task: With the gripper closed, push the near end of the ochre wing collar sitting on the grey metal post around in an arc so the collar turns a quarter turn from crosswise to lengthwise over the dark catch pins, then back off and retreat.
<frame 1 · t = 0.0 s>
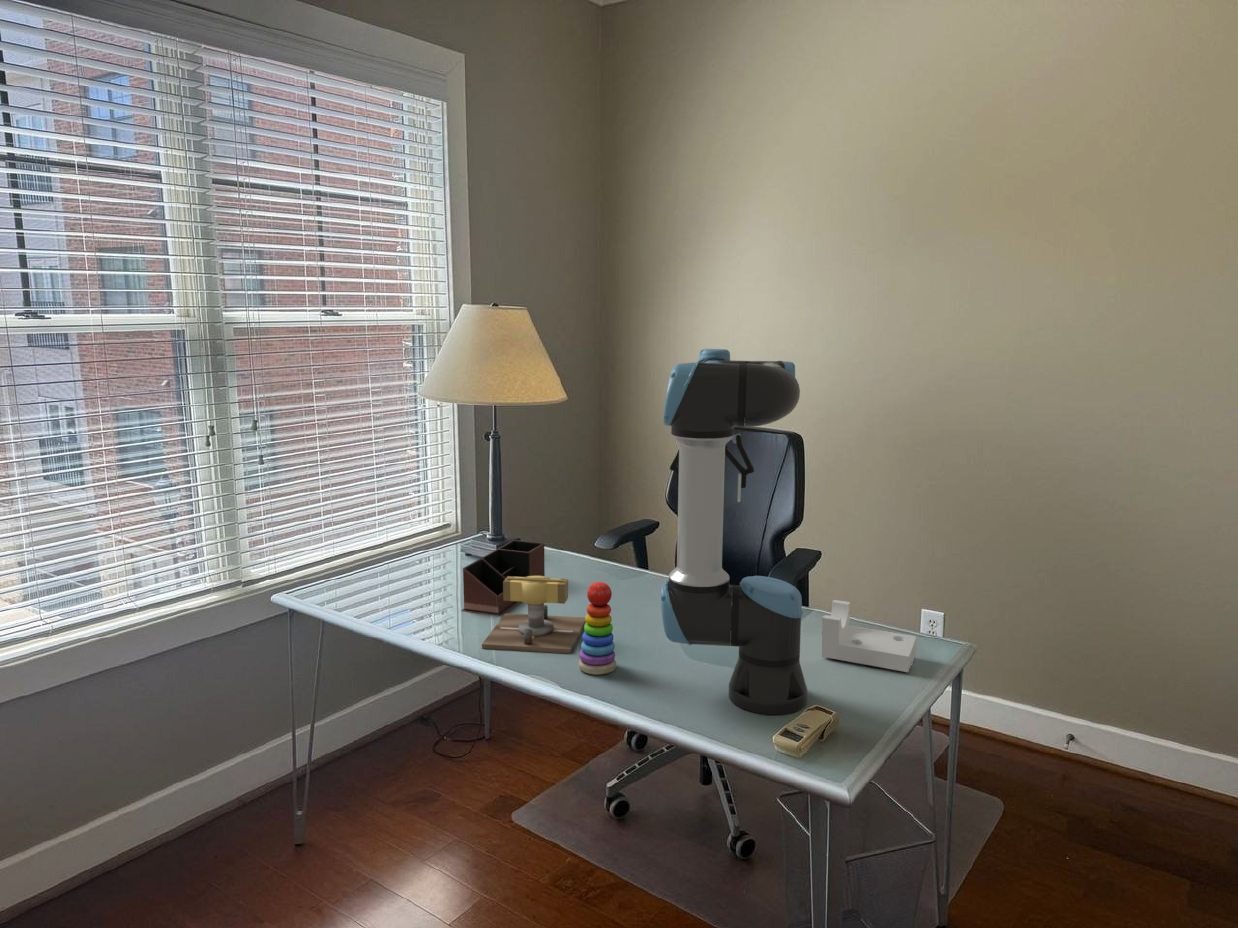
hand: (710, 500, 218), 28 cm above the table, fingers open, 13 cm apart
stacking toy: (597, 669, 187), on the table
white mounting bracket: (868, 660, 193), on the table
base: (536, 634, 206), on the table
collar: (535, 589, 204), point 11 cm above the table, hinge at 0.0°
desk organizer: (506, 597, 233), on the table
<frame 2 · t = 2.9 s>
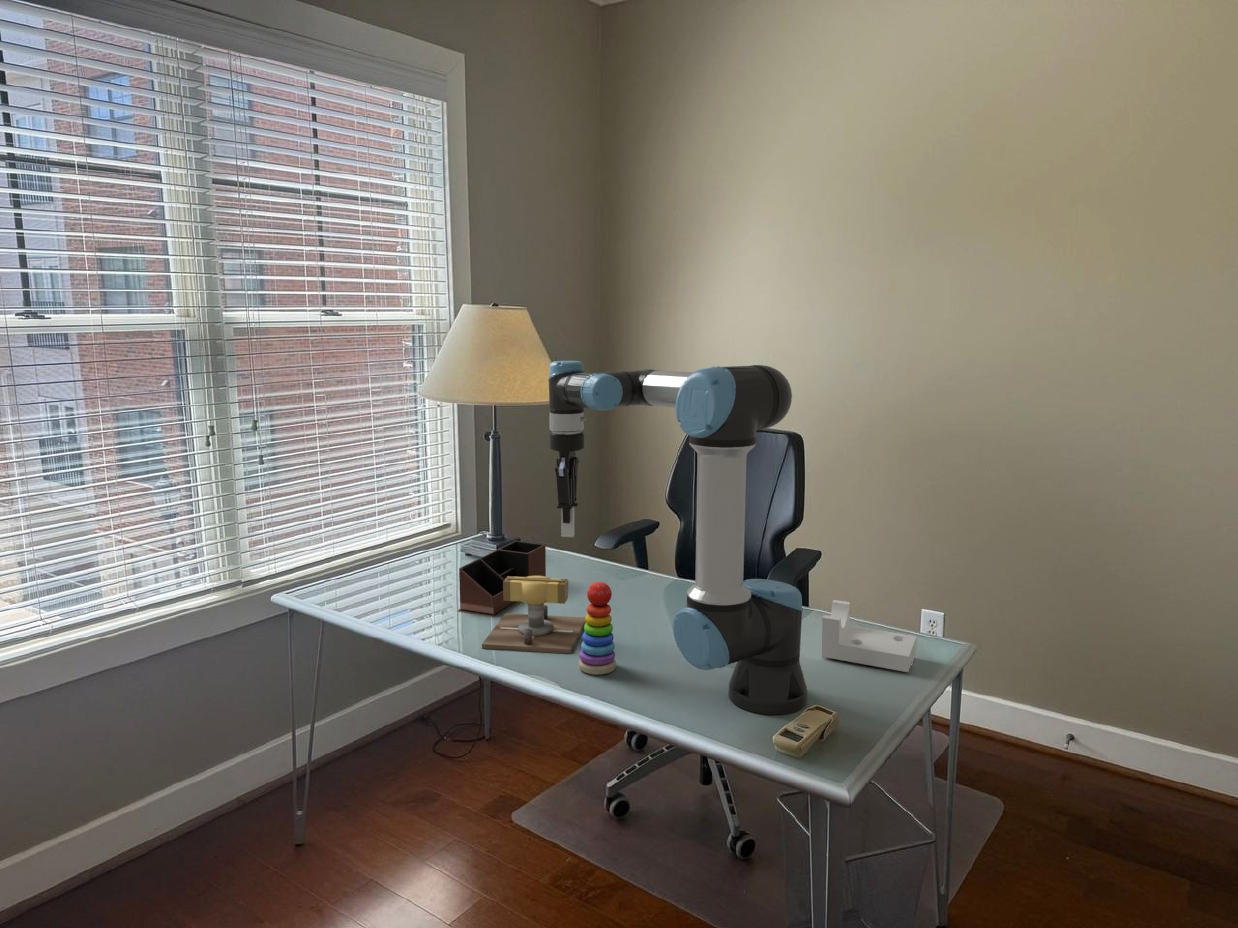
hand: (567, 535, 200), 24 cm above the table, fingers closed
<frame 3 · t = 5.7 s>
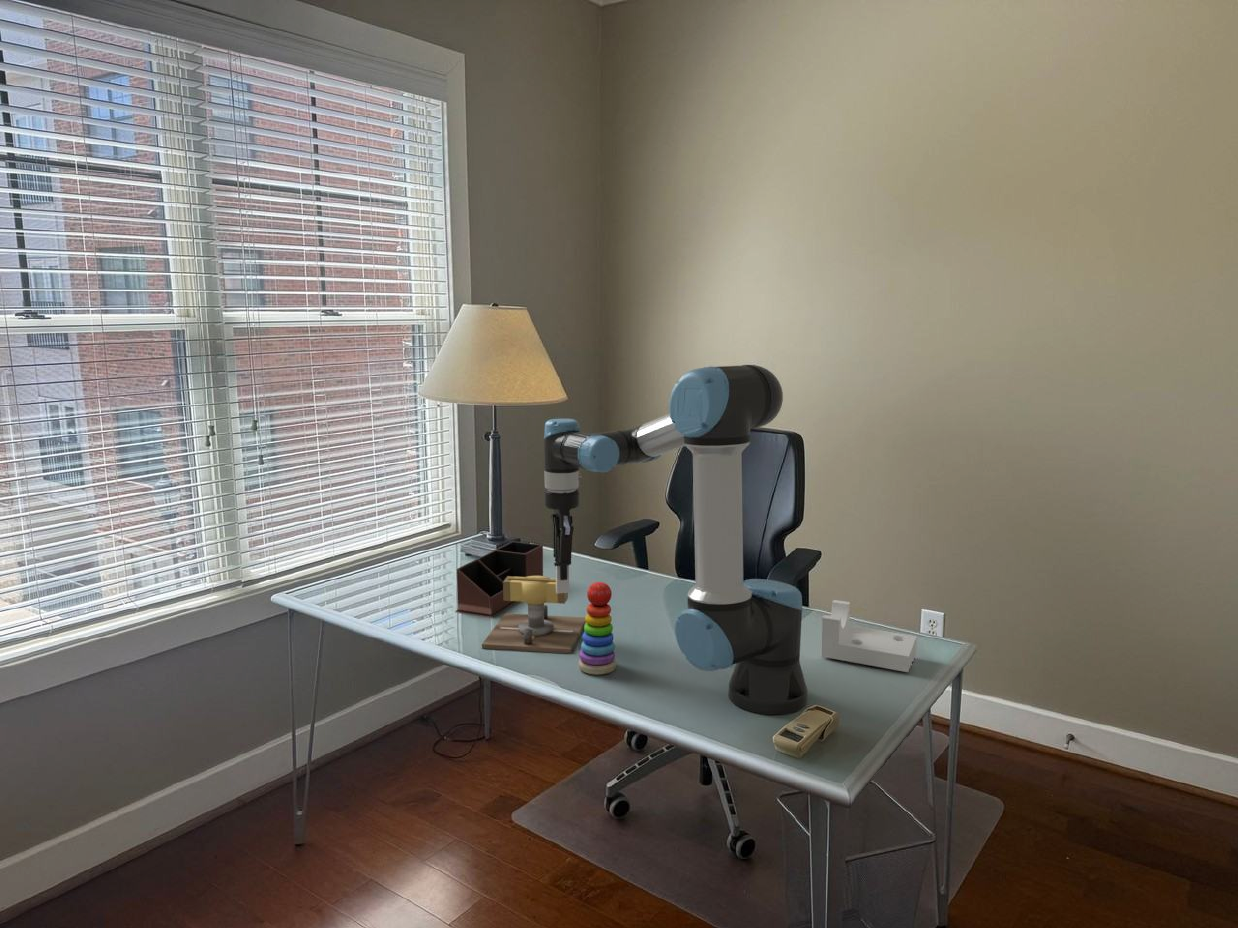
hand: (562, 591, 200), 11 cm above the table, fingers closed
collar: (535, 589, 204), point 11 cm above the table, hinge at 0.0°, touching gripper
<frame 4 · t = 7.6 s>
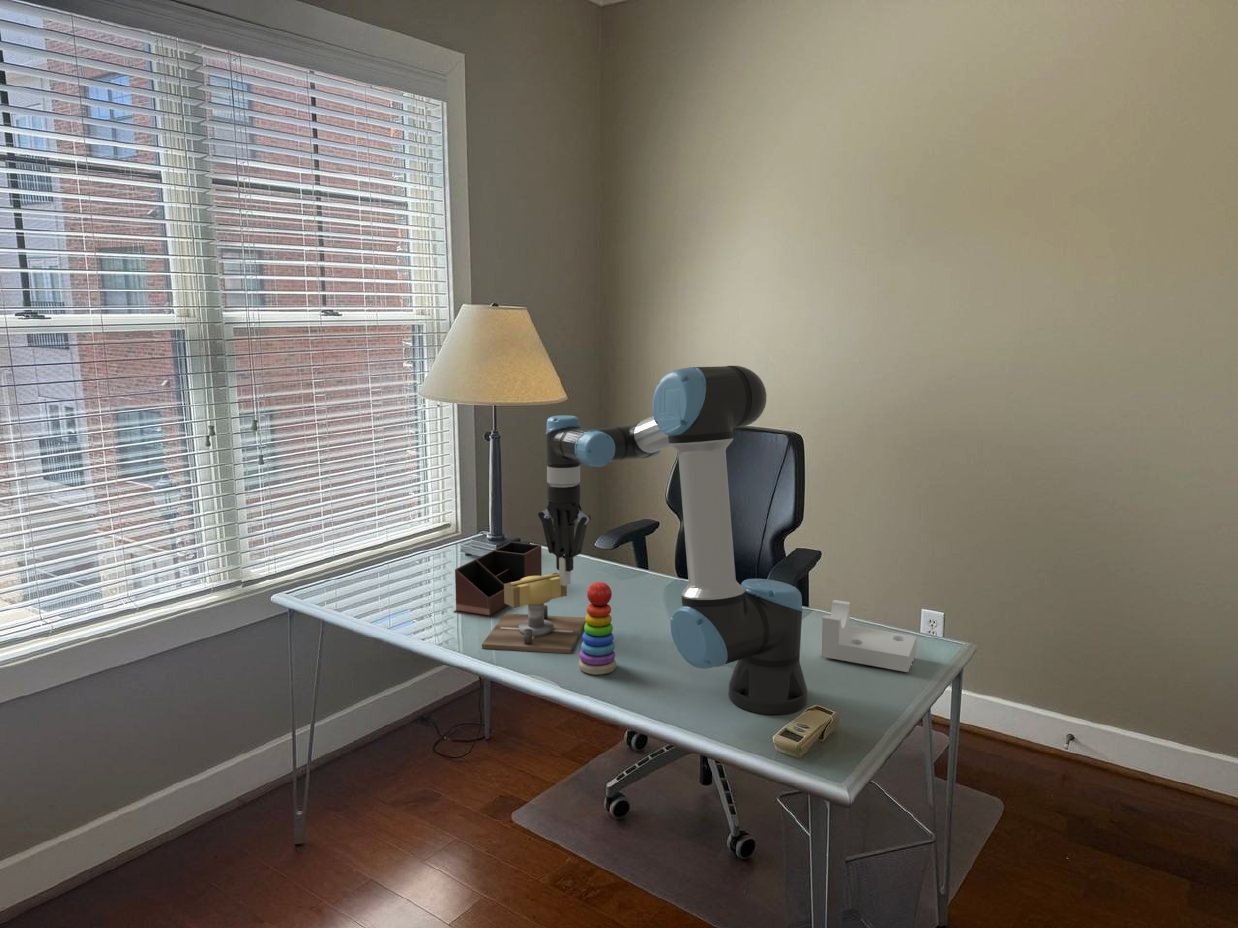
hand: (565, 583, 206), 11 cm above the table, fingers closed
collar: (535, 589, 204), point 11 cm above the table, hinge at 45.2°, touching gripper
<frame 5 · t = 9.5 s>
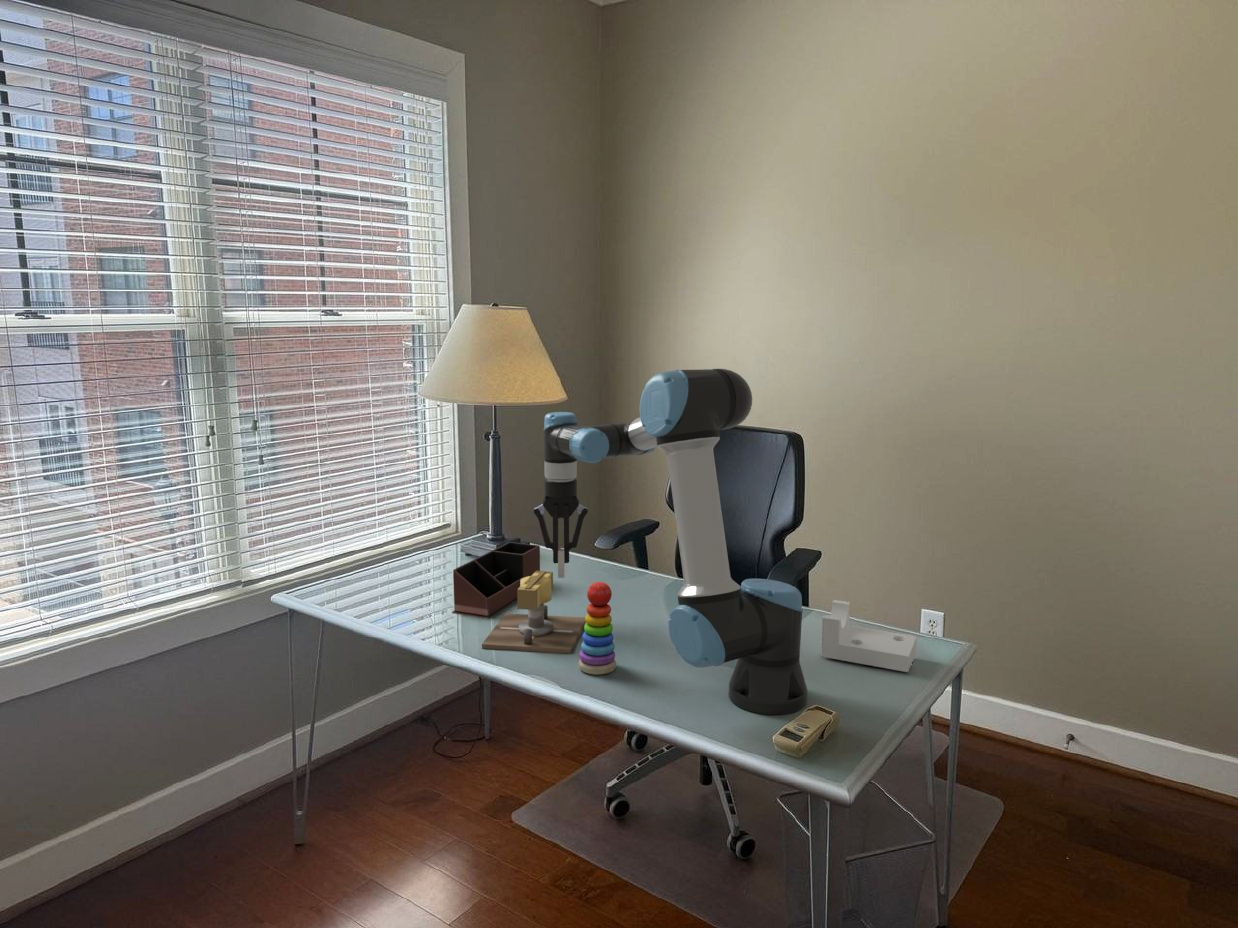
hand: (561, 575, 212), 11 cm above the table, fingers closed
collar: (535, 589, 204), point 11 cm above the table, hinge at 85.8°
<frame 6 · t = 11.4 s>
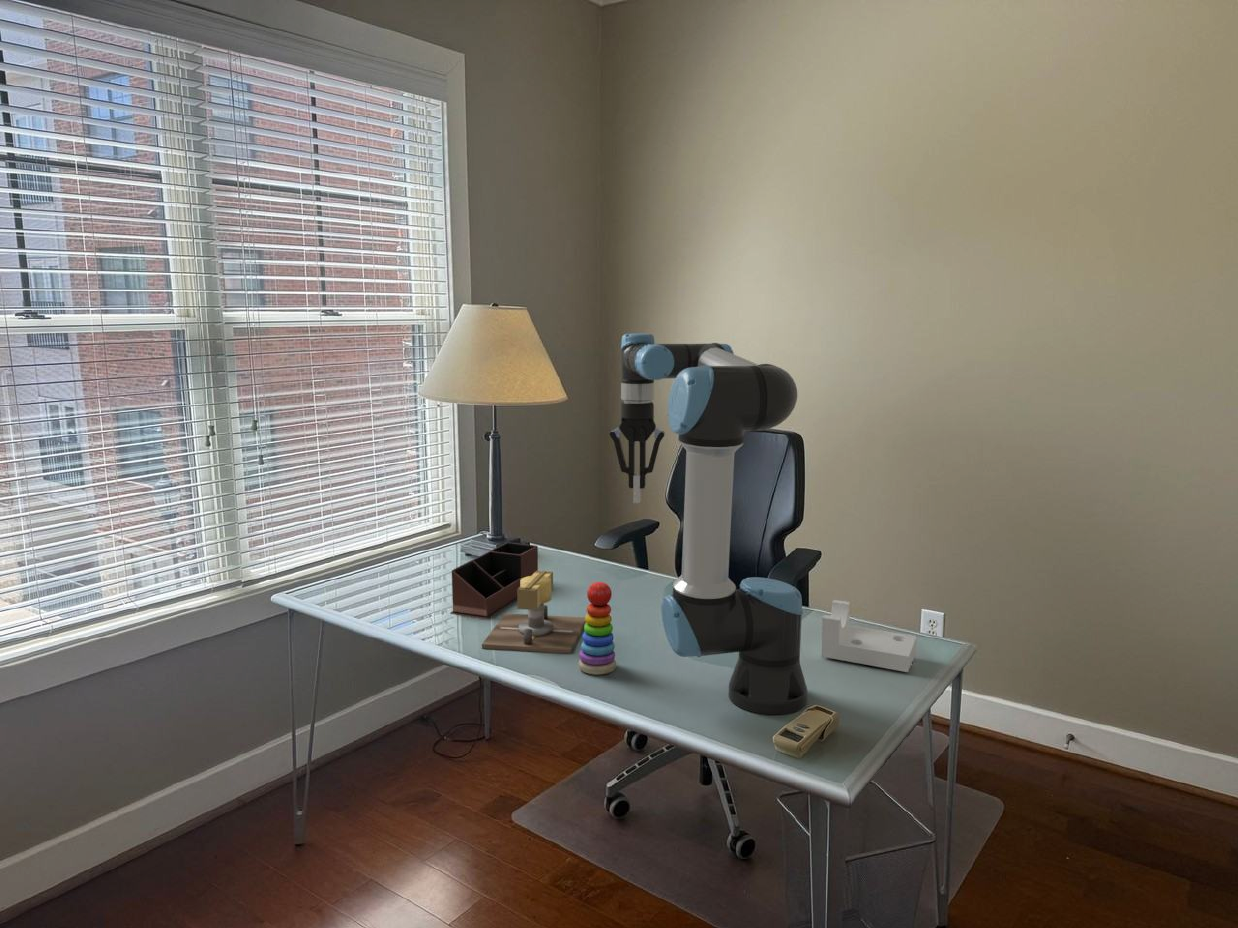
hand: (636, 501, 209), 30 cm above the table, fingers closed
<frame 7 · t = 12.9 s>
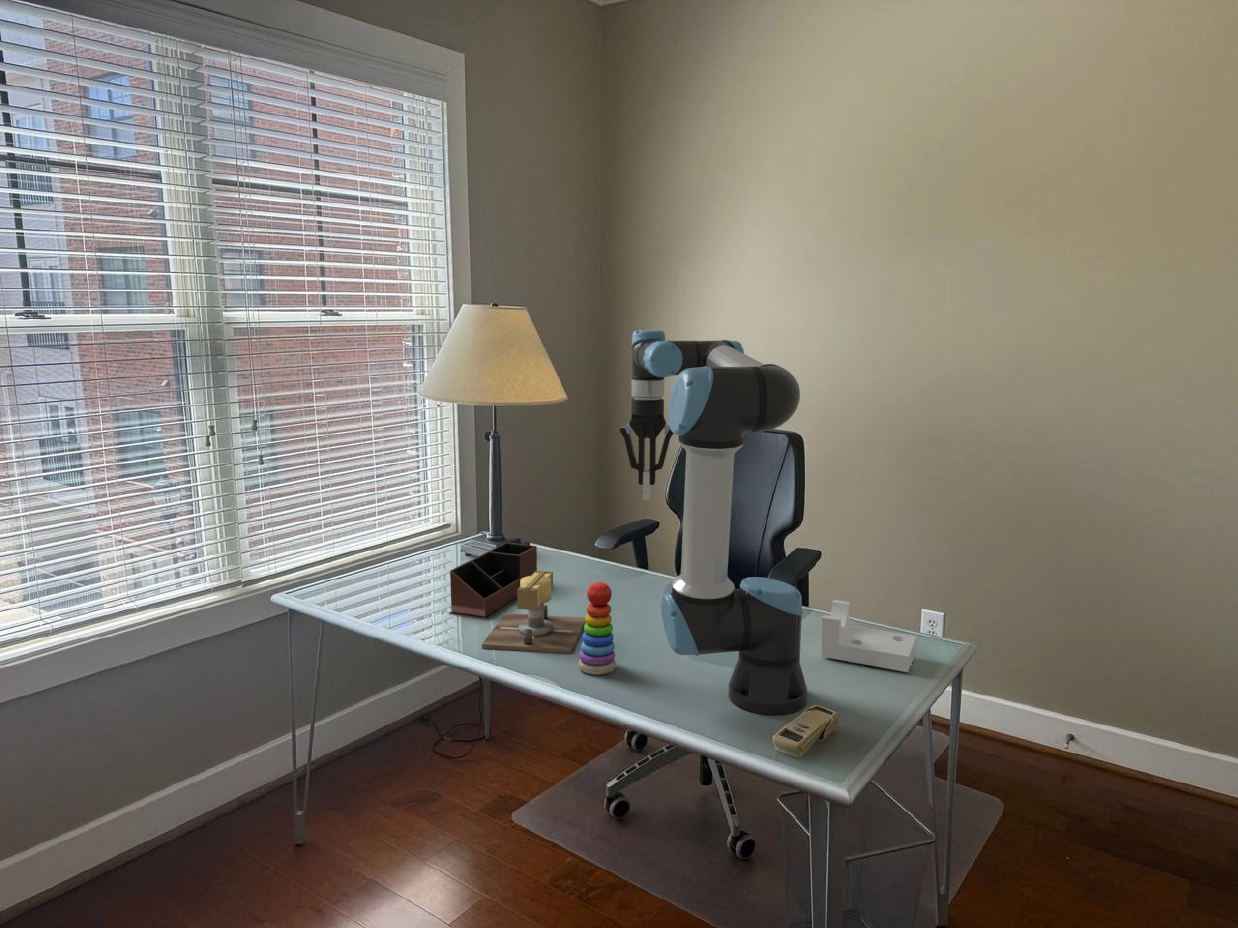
hand: (646, 498, 209), 30 cm above the table, fingers closed
at the end: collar at +86° (first picture: +0°); the gripper is holding nothing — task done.
